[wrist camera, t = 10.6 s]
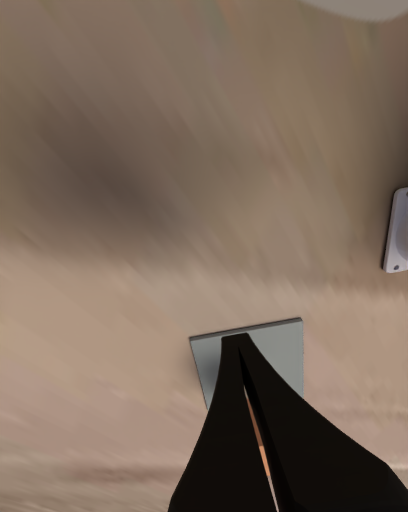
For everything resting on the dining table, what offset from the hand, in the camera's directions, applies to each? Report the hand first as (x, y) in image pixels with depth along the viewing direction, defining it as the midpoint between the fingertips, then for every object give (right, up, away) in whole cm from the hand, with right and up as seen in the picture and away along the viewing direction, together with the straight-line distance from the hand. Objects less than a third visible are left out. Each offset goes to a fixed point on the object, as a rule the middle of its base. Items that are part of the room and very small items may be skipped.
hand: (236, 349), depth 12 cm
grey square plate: (+4, -8, +15) cm, 18 cm away
